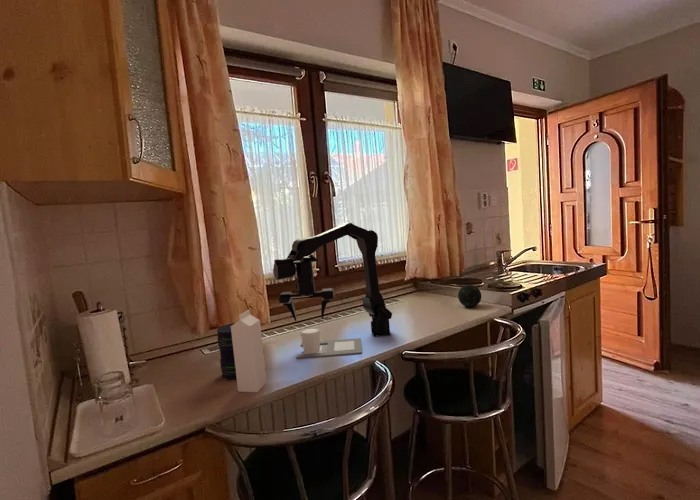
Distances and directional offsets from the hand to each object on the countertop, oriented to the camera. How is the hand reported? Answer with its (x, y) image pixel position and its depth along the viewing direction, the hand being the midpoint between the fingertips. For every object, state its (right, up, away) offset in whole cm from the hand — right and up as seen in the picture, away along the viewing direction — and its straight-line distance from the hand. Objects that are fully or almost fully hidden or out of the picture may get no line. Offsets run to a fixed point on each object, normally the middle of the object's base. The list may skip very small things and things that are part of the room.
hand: (309, 319), depth 144 cm
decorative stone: (+68, -1, +41) cm, 79 cm away
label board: (+7, -10, +1) cm, 13 cm away
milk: (-14, -15, -26) cm, 33 cm away
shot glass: (+1, -11, +1) cm, 11 cm away
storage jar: (-21, -15, -15) cm, 29 cm away
